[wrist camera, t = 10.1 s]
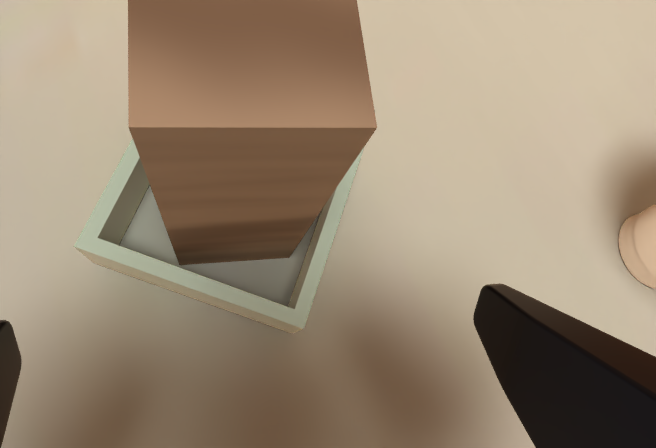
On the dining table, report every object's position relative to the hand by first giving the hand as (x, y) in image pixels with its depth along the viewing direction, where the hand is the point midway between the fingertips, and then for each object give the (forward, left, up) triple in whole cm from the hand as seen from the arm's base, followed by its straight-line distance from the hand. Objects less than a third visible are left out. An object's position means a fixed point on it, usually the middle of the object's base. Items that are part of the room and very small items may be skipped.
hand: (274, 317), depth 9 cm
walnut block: (+6, +3, -12) cm, 14 cm away
